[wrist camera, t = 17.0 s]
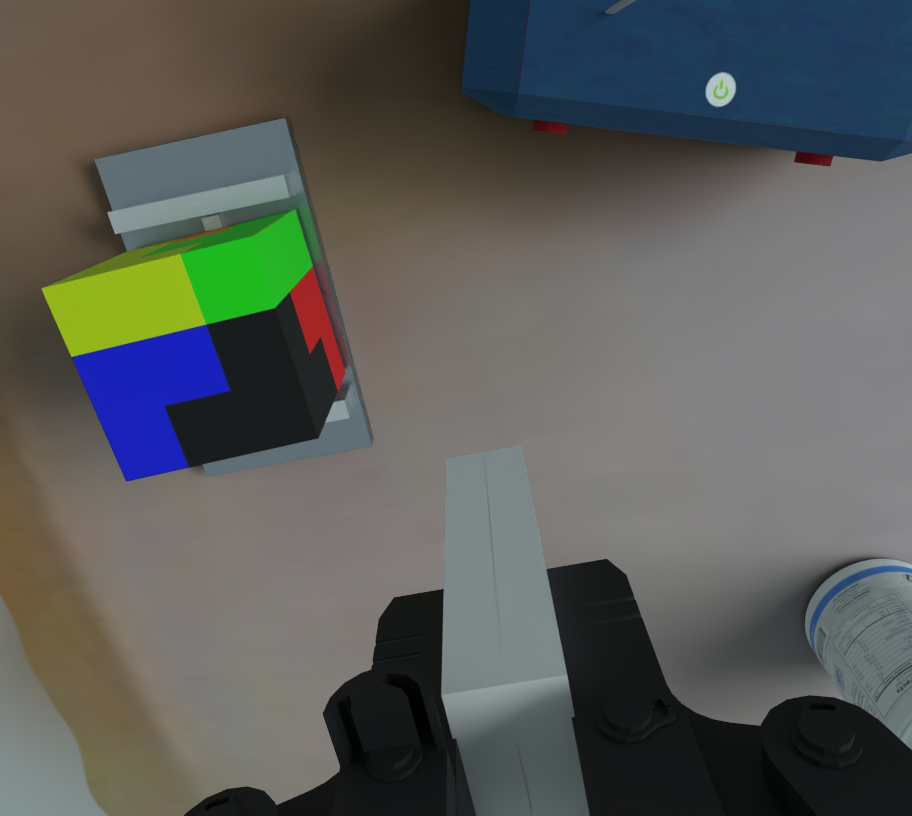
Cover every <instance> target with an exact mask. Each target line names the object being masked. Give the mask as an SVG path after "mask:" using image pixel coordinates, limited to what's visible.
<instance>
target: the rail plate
mask: <svg viewBox="0 0 912 816" xmlns="http://www.w3.org/2000/svg"><path fill="white" fill-rule="evenodd" d="M95 163H96V166H97V168H98V171H99V174H100V177H101V180H102V182H103V185H104V188H105V191H106V194H107V197H108V199H109V202H110V205H111V208H112V211H110V212H107V213H108V216H109V219H110V221H111V224H112V227H113V230H114V233H115V234H118V233H121V236H122V239H123V242H124V245H125V247H126V250H127V251H130V250H134V249H138V248H142V247H146V246H150V245H154V244H158V243H162V242H166V241H170V240H174V239H178V238H182V237H186V236H190V235H194V234H198V233H202V232H206V231H210V230H214V229H218V228H222V227H226V226H230V225H234V224H238V223H242V222H246V221H250V220H254V219H258V218H262V217H266V216H270V215H274V214H278V213H282V212H286V211H290V210H294V209H295V210H296V213H297V216H298V219H299V223H300V226H301V229H302V232H303V236H304V239H305V242H306V245H307V249H308V252H309V255H310V258H311V262H312V265H313V268H314V271H315V275H316V278H317V281H318V284H319V288H320V291H321V294H322V297H323V301H324V304H325V307H326V310H327V314H328V317H329V320H330V323H331V327H332V330H333V333H334V336H335V340H336V343H337V346H338V349H339V353H340V356H341V359H342V362H343V366H344V369H345V372H346V373H345V376H344V378H343V381H342V383H341V386H340V388H339V390H338V393H337V395H336V398H335V400H334V402H333V405H332V407H331V410H330V412H329V414H328V417H327V419H326V422H325V424H324V426H323V429H322V431H321V434H320V436H319V438H318V439H314V440H309V441H305V442H301V443H296V444H292V445H287V446H283V447H278V448H274V449H269V450H265V451H260V452H256V453H251V454H247V455H243V456H238V457H234V458H229V459H225V460H220V461H216V462H211V463H207V464H202V465H203V468H204V470H205V473H206V476H207V477H208V476H213V475H218V474H224V473H229V472H235V471H240V470H245V469H251V468H256V467H262V466H267V465H272V464H278V463H283V462H288V461H294V460H299V459H305V458H310V457H315V456H321V455H326V454H331V453H337V452H342V451H348V450H353V449H358V448H364V447H369V446H372V442H373V435H372V431H371V427H370V423H369V420H368V416H367V412H366V408H365V404H364V401H363V397H362V393H361V389H360V385H359V381H358V378H357V374H356V370H355V366H354V362H353V358H352V355H351V351H350V347H349V343H348V339H347V336H346V332H345V328H344V324H343V320H342V316H341V313H340V309H339V305H338V301H337V297H336V293H335V290H334V286H333V282H332V278H331V274H330V271H329V267H328V263H327V259H326V255H325V251H324V248H323V244H322V240H321V236H320V232H319V228H318V225H317V221H316V217H315V213H314V209H313V206H312V202H311V198H310V194H309V190H308V186H307V183H306V179H305V175H304V171H303V167H302V163H301V160H300V156H299V152H298V148H297V144H296V141H295V137H294V133H293V129H292V125H291V121H290V118H283V119H278V120H273V121H269V122H264V123H260V124H255V125H251V126H246V127H241V128H237V129H232V130H228V131H223V132H219V133H214V134H209V135H205V136H200V137H196V138H191V139H187V140H182V141H177V142H173V143H168V144H164V145H159V146H154V147H150V148H145V149H141V150H136V151H132V152H127V153H122V154H118V155H113V156H109V157H104V158H100V159H95Z"/></svg>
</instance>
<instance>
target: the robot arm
mask: <svg viewBox="0 0 912 816" xmlns="http://www.w3.org/2000/svg"><path fill="white" fill-rule="evenodd" d="M323 716H324V719H325V722H326V725H327V728H328V731H329V734H330V737H331V740H332V743H333V746H334V749H335V752H336V755H337V758H338V761H339V764H340V771H339V772H338V773H337V774H336V775H334V776H333V777H332V778H331V779H329V780H328V781H327V782H325V783H323V784H321V785H320V786H318V787H316V788H314V789H312V790H310V791H308V792H306V793H304V794H301V795H299V796H297V797H294V798H292V799H290V800H287V801H285V802H283V803H281V804H278V805H276V804H275V802H274V801H273V800H272V799H271V798H270V797H269V796H268V795H267V794H266V792H265V791H262V790H259V789H255V788H251V787H240V788H231V789H226V790H224V791H222V792H219V793H217V794H215V795H212V796H210V797H208V798H206V799H204V800H203V801H202V802H200V803H199V804H198V805H196V806H195V807H194V808H192V809H191V810H190V811H188V812H187V813H186V814H185V815H184V816H912V750H911V749H910V748H909V747H908V746H907V745H906V744H905V743H904V742H903V741H902V740H900V739H899V738H898V737H897V736H896V735H895V734H894V733H893V732H892V731H891V730H890V729H889V728H887V727H886V726H885V725H884V724H883V723H882V722H881V721H880V720H879V719H877V718H876V717H874V716H873V715H871V714H870V713H868V712H867V711H865V710H864V709H862V708H861V707H859V706H857V705H854V704H851V703H848V702H846V701H843V700H840V699H837V698H834V697H822V696H811V695H809V696H803V697H798V698H793V699H787V700H786V701H784V702H782V703H781V704H779V705H777V706H775V707H774V708H772V709H770V711H769V712H768V714H767V716H766V717H765V719H764V720H763V722H762V724H761V726H757V725H747V724H737V723H729V722H724V721H719V720H713V719H710V718H708V717H705V716H703V715H700V714H697V713H695V712H694V711H692V710H690V709H689V708H687V707H686V706H684V705H683V704H682V703H681V702H680V701H679V700H678V699H677V698H676V697H675V696H674V695H673V694H672V693H671V691H670V689H669V687H668V686H667V684H666V681H665V679H664V676H663V673H662V671H661V668H660V665H659V662H658V660H657V657H656V654H655V652H654V649H653V646H652V643H651V641H650V638H649V635H648V633H647V630H646V627H645V624H644V622H643V619H642V618H641V614H640V611H639V608H638V606H637V603H636V600H635V599H634V595H633V592H632V589H631V587H630V584H629V581H628V578H627V576H626V574H625V573H623V572H622V571H621V570H620V569H618V568H617V567H616V566H615V565H614V564H612V563H611V562H610V561H609V560H607V559H603V560H597V561H591V562H586V563H580V564H574V565H568V566H562V567H557V568H551V569H546V566H545V561H544V556H543V551H542V546H541V541H540V535H539V530H538V525H537V520H536V515H535V510H534V505H533V500H532V495H531V490H530V485H529V480H528V475H527V470H526V465H525V460H524V455H523V450H522V445H520V446H515V447H509V448H504V449H498V450H493V451H487V452H482V453H476V454H471V455H465V456H460V457H455V458H449V459H447V471H446V514H445V557H444V589H441V590H435V591H429V592H423V593H418V594H412V595H406V596H400V597H394V598H393V600H392V601H391V603H390V604H389V605H388V607H387V608H386V610H385V611H384V613H383V614H382V615H381V617H380V618H379V622H378V629H377V635H376V646H375V649H374V655H373V665H372V669H371V670H369V671H366V672H363V673H361V674H359V675H357V676H356V677H354V678H352V679H351V680H349V681H347V682H345V683H344V684H343V685H342V686H341V687H340V688H339V689H338V690H337V691H336V692H335V693H334V694H333V695H332V696H331V697H330V699H329V701H328V703H327V705H326V708H325V710H324V712H323Z"/></svg>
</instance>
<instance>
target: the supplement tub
mask: <svg viewBox="0 0 912 816" xmlns="http://www.w3.org/2000/svg"><path fill="white" fill-rule="evenodd" d="M805 630H806V636H807V639H808V641H809V644H810V646H811V647H812V649H813V651H814V652H815V654H816V656H817V657H818V659H819V660H820V662H821V663H822V665H823V667H824V668H825V670H826V671H827V673H828V674H829V676H830V678H831V679H832V681H833V682H834V684H835V685H836V687H837V688H838V690H839V692H840V693H841V695H842V696H843V698H844V699H845V701H846V702H848V703H851V704H854V705H857V706H859V707H861V708H862V709H864V710H865V711H867V712H868V713H870V714H871V715H873V716H874V717H876V718H877V719H879V720H880V721H881V722H882V723H883V724H884V725H885V726H886V727H887V728H889V729H890V730H891V731H892V732H893V733H894V734H895V735H896V736H897V737H898V738H899V739H900V740H902V741H903V742H904V743H905V744H906V745H907V746H908V747H909V748H910V749H911V750H912V565H911V564H909V563H906V562H902V561H898V560H893V559H871V560H866V561H861V562H858V563H854V564H852V565H849V566H847V567H845V568H843V569H841V570H839V571H838V572H836V573H835V574H833V575H832V576H831V577H829V578H828V579H827V580H826V581H825V582H824V583H823V584H822V585H821V586H820V587H819V588H818V589H817V591H816V592H815V593H814V595H813V597H812V598H811V600H810V603H809V605H808V608H807V611H806V616H805Z"/></svg>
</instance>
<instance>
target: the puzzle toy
mask: <svg viewBox="0 0 912 816" xmlns="http://www.w3.org/2000/svg"><path fill="white" fill-rule="evenodd" d="M41 289H42V291H43V294H44V296H45V298H46V301H47V303H48V305H49V307H50V310H51V312H52V314H53V316H54V319H55V321H56V323H57V325H58V328H59V330H60V332H61V335H62V337H63V339H64V341H65V344H66V346H67V348H68V350H69V353H70V355H71V357H72V360H73V362H74V364H75V366H76V369H77V371H78V373H79V375H80V378H81V380H82V382H83V384H84V387H85V389H86V391H87V394H88V396H89V398H90V400H91V403H92V405H93V407H94V409H95V412H96V414H97V416H98V419H99V421H100V423H101V425H102V428H103V430H104V432H105V434H106V437H107V439H108V441H109V443H110V446H111V448H112V450H113V453H114V455H115V457H116V459H117V462H118V464H119V466H120V468H121V471H122V473H123V475H124V478H125V480H126V482H127V481H131V480H135V479H140V478H144V477H149V476H153V475H158V474H162V473H167V472H171V471H176V470H180V469H185V468H189V467H193V466H198V465H202V464H207V463H211V462H216V461H220V460H225V459H229V458H234V457H238V456H243V455H247V454H251V453H256V452H260V451H265V450H269V449H274V448H278V447H283V446H287V445H292V444H296V443H301V442H305V441H309V440H314V439H318V438H319V436H320V434H321V431H322V429H323V426H324V424H325V422H326V419H327V417H328V414H329V412H330V410H331V407H332V405H333V402H334V400H335V398H336V395H337V393H338V390H339V388H340V386H341V383H342V381H343V378H344V376H345V373H346V372H345V369H344V366H343V362H342V359H341V356H340V353H339V349H338V346H337V343H336V340H335V336H334V333H333V330H332V327H331V323H330V320H329V317H328V314H327V310H326V307H325V304H324V301H323V297H322V294H321V291H320V288H319V284H318V281H317V278H316V275H315V271H314V268H313V265H312V262H311V258H310V255H309V252H308V249H307V245H306V242H305V239H304V236H303V232H302V229H301V226H300V223H299V219H298V216H297V213H296V210H295V209H294V210H290V211H286V212H282V213H278V214H274V215H270V216H266V217H262V218H258V219H254V220H250V221H246V222H242V223H238V224H234V225H230V226H226V227H222V228H218V229H214V230H210V231H206V232H202V233H198V234H194V235H190V236H186V237H182V238H178V239H174V240H170V241H166V242H162V243H158V244H154V245H150V246H146V247H142V248H138V249H134V250H130V251H127V252H125V253H123V254H120V255H118V256H116V257H113V258H111V259H109V260H106V261H104V262H102V263H99V264H97V265H95V266H92V267H90V268H88V269H85V270H83V271H81V272H78V273H76V274H74V275H72V276H69V277H67V278H65V279H62V280H60V281H58V282H55V283H53V284H51V285H48V286H46V287H44V288H41Z"/></svg>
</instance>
